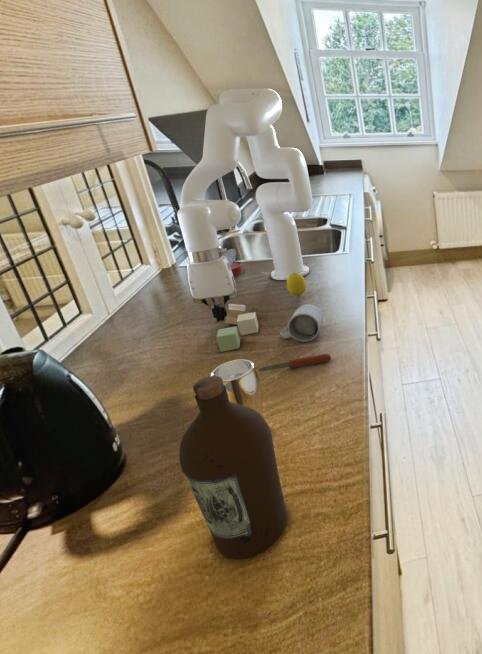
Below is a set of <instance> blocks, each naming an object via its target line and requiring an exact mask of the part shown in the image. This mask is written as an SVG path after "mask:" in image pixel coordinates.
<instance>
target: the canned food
mask: <svg viewBox="0 0 482 654" xmlns="http://www.w3.org/2000/svg"><path fill="white" fill-rule="evenodd" d="M222 256H226V258H227V260H228V262H229V265H230V267H231V270H232V273H233V277H234V278H236V277H238V276H240V275H242V274H243V272H244V270H243V266H242V263H241V262H240V261H236V258H237V250H236V249H235V248H230V249H227V253H224V254H223V255H222Z"/></svg>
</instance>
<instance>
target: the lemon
mask: <svg viewBox="0 0 482 654" xmlns="http://www.w3.org/2000/svg"><path fill="white" fill-rule="evenodd" d="M304 277H305V276H302V275H300V274H298V273H295V272H294V273H293V274H291V275H290V276H289V277H288V278H287V280H286V289H287V291H288V292H289V293H290V295H292V296H295V297H298V298H299V297H301V295H303V294H305V292H306V290H307V282H306V279H305V278H304Z"/></svg>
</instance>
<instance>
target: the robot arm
mask: <svg viewBox="0 0 482 654" xmlns="http://www.w3.org/2000/svg"><path fill="white" fill-rule="evenodd" d="M218 102H219V103H216V104H213V105H210V107H209V108H208V109H207V110H206V114H205V126H204V135H203V147H202V157H201V159H200V160H199V162H198V163H197V164H196V165H195V166H194V168H193V169H192V170H191V172H190V173H189V174H188V176H187V177H186V179H185V181H184V183H183V185H182V188H181V196H180V208H179V209H178V210H177V213H176V214H177V215H176V216H177V219H178V224H179V228H180V231H181V235H182V238H183V243H184V246H185V250H186V254H187V258H188V260H187V262H186V272H187V279H188V285H189V290H190V294H191V297H192V302H193V303H195V304H204V305H205V306H208V307H209V309H211V312H212V316H213V319H216V322H217V323H220V322H224V321H225V320H226V316H227V309H226V304H227V303H228V301H229V300H232V299H234V298H237V297H238V296H239V292H238V291H237V289H236V288H237V287H236V286H237V285H236V281H235V280H236V279H235V277H233V273H232V270H231V267H230V265H229V262H228V260H227V258H226V256H222V255H223V254H224V253H227V250H228V248H227V247H222V246H221V245H220V242H219V236H218V231H222V230H223V231H224V230H229V229H232V228H234V227H236V226H237V225H238V224H239V223H240V221H241V218H242V210H241V209H240V207H239V205H238V204H236V203H235V202H234V201H231V200H228V199H205V195H206V192H207V191H208V188H210V186H211V185H212V183H214V182H216V180H217V181H218V179H220V178H222V177H224V176H225V175H227V174H229V173H231V172H233V171H235V170H236V169H237V168H238V166H239V161H240V160H239V159H240V146H241V138H242V137H245V138H246V140H247V144H248V149H249V154H250V158H251V161H252V167H253V169H254V173H255V174H256V176H258V177H259V178H262V179H266V180H288V181H287V182H286V181H285V182H282V181H280V182H279V181H275V182H266V183H263V184H261V185H258V187H257V189H256V191H255V201H256V204H257V206H258V208H259V211H260V213H261V216H262V218H263V222H264V226H265V232H266V234H267V240H268V245H269V248H270V249H269V250H270V254H271V258H272V263H273V269H274V270H272V271H271V272H270V277H271V279H273V280H275V281H276V280H277V281H287V278H288V277H289V276H290V275H291V274H293V273H294V272H295V273H298V274H300V275H302V276H303V277H305V276H306V275H308V274H309V273H310V268H309V266H307V265H305V264H304V261H303V255H302V249H301V244H300V239H299V233H298V228H297V223H296V221H295V219H294V217H293V216H292V215H291V214H290V213H304V212H308V211H309V210H310V209H311V208H312V207H313V191H312V187H311V182H310V176H309V170H308V165H307V161H306V159H305V156H304V154H303V153H302V152H301V151H300V149H298V148H295V147H290V146H289V147H286V146H284V147H282V146H281V147H280V145H279V142H278V138H277V134H276V131H275V129H274V126H273V125H274V124H275V123H276V122H277V121H278V120H279V119H280V117H281V115H282V112H283V102H282V99H281V97H280V95H279V94H278V93H277V91H276V90H274V89H272V88H268V87H265V88H264V87H260V88H259V87H258V88H234V89H233V88H232V89H227V90H224V91H223V92H221V93H220V94H219V98H218ZM215 298H218V303H217V301H216V300H215Z"/></svg>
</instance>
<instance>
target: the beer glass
mask: <svg viewBox="0 0 482 654" xmlns="http://www.w3.org/2000/svg"><path fill="white" fill-rule="evenodd" d="M257 372H258V371H257V370H256V367H255V364H254V362H253V361H252V360H249V359H245V358H244V359H243V358H241V359H239V358H238V359H233V360H228V361H227V362H223V363H222V364H220V365H218V366H216V367H215V368H214V369H213V370H212V371H211V373H210V376H219V377H221V378H222V380H223V385H224V386H225V387H226V390H227V394H228V398H229V401H230V402H233V403H236V404H240V405H243V406H246V407H249V408H252V409H254V410H255V411H257V412H258V413H259V414H260V415H261V416H262V417H263V418H264V407H263V405H264V404H263V403H264V402H263V390H262V386H261V382H260V379H259V375H258V373H257ZM264 419H265V418H264Z"/></svg>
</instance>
